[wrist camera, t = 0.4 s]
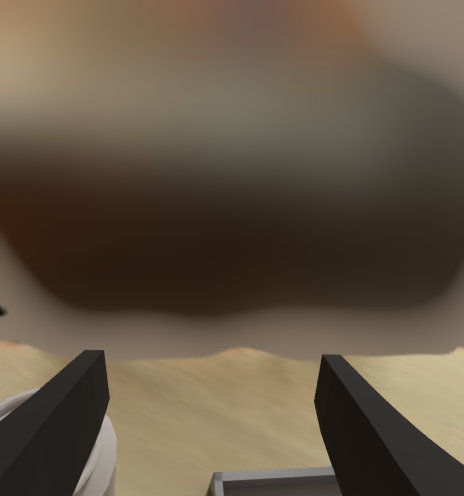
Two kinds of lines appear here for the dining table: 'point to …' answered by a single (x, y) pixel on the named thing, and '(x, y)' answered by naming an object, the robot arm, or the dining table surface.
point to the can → (100, 460)
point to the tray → (276, 482)
